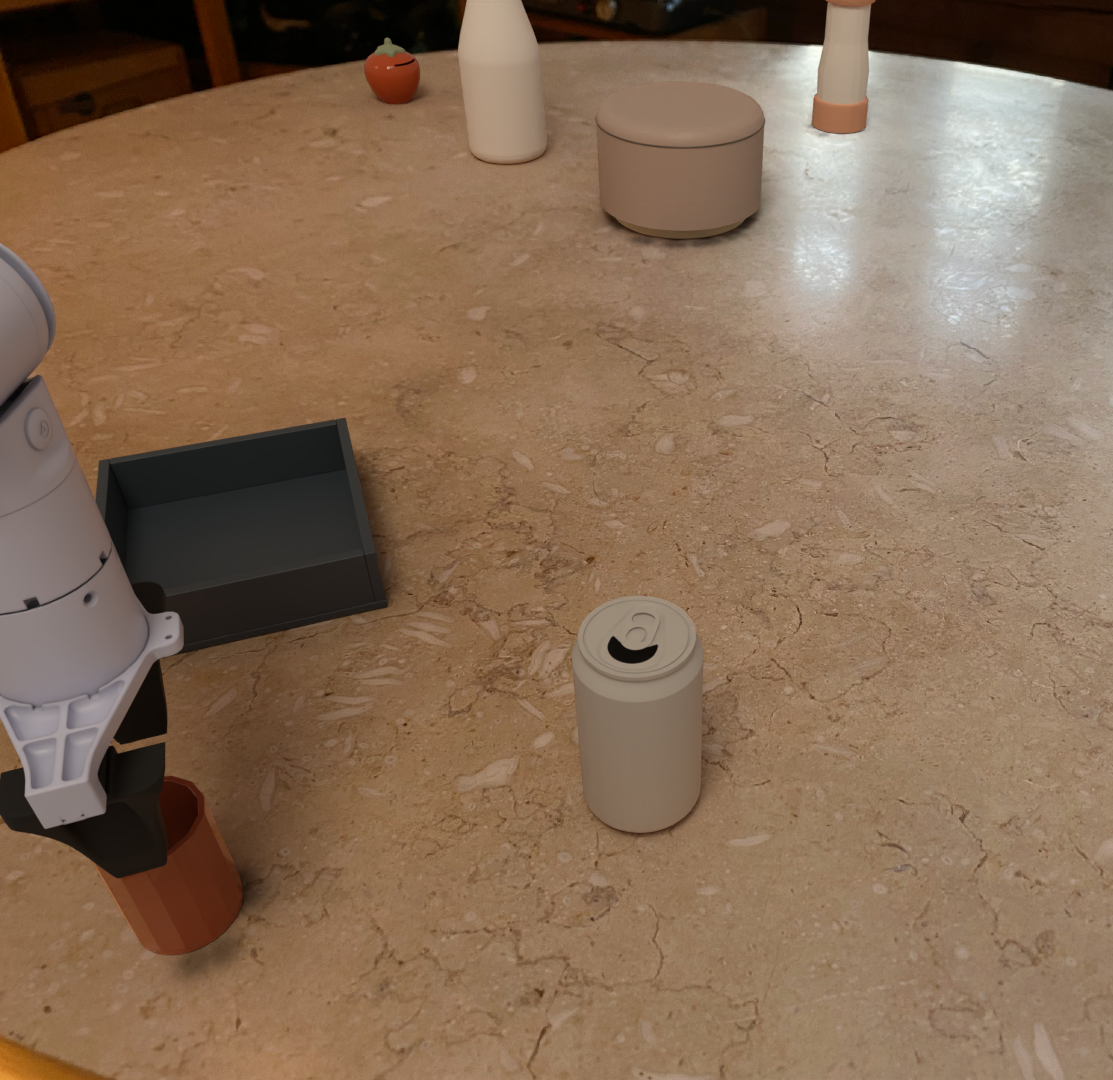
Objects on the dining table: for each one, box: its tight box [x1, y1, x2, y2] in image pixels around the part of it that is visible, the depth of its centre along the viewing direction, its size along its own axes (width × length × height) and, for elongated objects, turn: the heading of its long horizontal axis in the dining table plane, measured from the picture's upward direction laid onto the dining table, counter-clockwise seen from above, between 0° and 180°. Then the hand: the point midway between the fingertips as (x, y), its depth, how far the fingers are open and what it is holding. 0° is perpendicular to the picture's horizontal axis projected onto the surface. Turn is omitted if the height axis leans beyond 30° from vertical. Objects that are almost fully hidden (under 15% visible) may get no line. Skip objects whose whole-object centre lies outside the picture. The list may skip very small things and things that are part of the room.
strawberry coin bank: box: [363, 37, 421, 105], centre depth 148 cm, size 7×7×8 cm
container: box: [594, 80, 766, 240], centre depth 118 cm, size 18×18×12 cm
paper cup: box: [91, 775, 244, 956], centre depth 51 cm, size 5×5×7 cm
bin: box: [94, 417, 389, 656], centre depth 73 cm, size 16×16×5 cm
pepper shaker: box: [811, 0, 876, 134], centre depth 140 cm, size 7×7×19 cm
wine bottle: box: [457, 0, 548, 165], centre depth 126 cm, size 10×10×30 cm
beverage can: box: [571, 595, 705, 834], centre depth 56 cm, size 6×6×12 cm
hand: (142, 796), depth 49 cm, fingers open, 7 cm apart
